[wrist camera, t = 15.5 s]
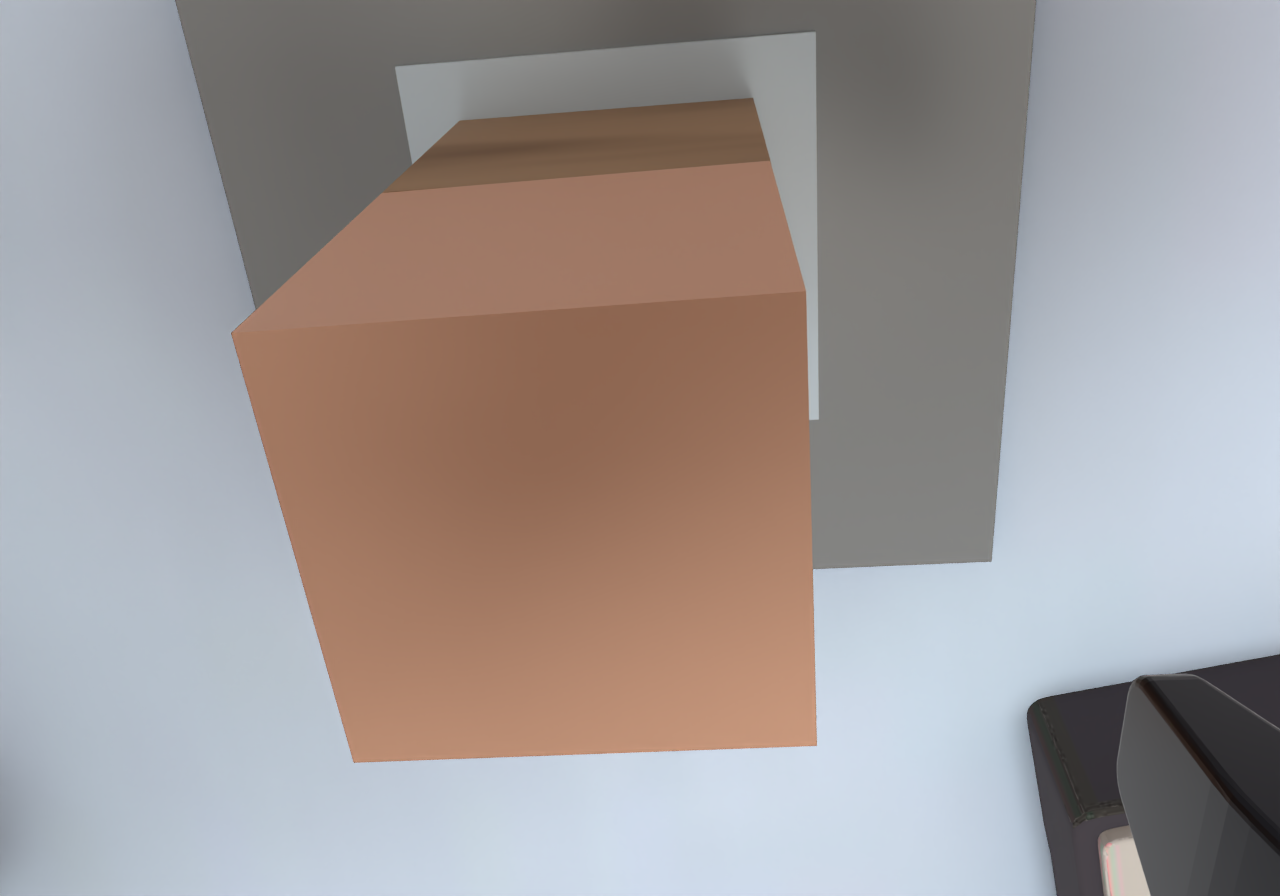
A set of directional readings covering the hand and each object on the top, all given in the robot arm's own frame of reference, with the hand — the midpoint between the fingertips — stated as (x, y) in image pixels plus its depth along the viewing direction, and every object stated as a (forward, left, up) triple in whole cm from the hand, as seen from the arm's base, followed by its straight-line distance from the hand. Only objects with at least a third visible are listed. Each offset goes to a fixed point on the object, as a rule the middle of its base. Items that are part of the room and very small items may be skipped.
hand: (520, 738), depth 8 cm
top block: (0, 0, -8) cm, 7 cm away
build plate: (0, 0, -13) cm, 13 cm away
